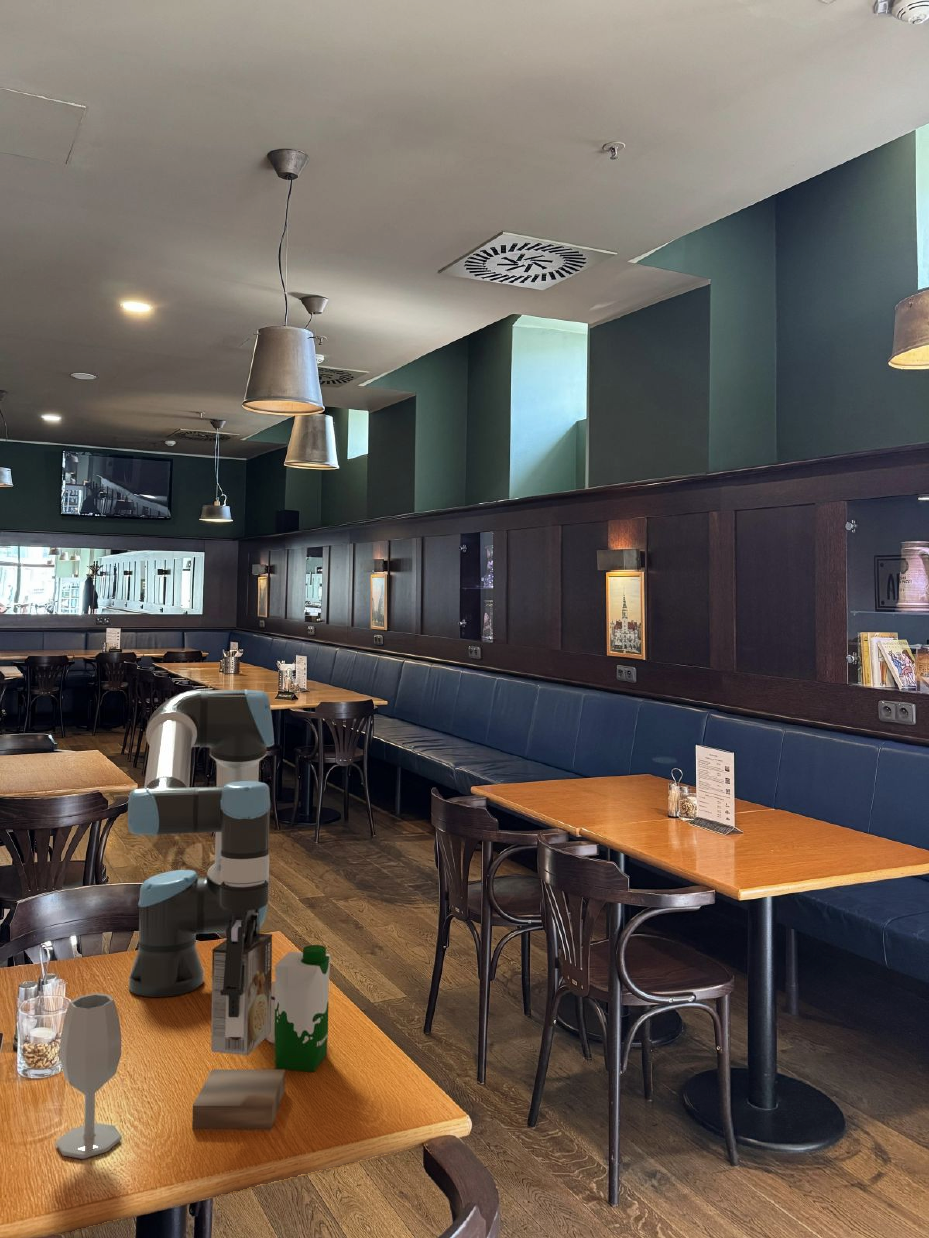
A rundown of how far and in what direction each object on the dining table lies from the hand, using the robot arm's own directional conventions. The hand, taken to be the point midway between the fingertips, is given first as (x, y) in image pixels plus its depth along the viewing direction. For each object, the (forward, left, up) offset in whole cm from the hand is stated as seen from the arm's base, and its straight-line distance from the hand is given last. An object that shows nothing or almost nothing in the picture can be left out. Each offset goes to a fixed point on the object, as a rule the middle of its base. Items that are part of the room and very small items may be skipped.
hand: (241, 1022), depth 152 cm
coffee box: (0, 0, -3) cm, 3 cm away
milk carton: (-17, +7, -14) cm, 23 cm away
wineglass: (+10, -20, -14) cm, 26 cm away
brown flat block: (0, 0, -14) cm, 14 cm away
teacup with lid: (-29, +3, -14) cm, 32 cm away
